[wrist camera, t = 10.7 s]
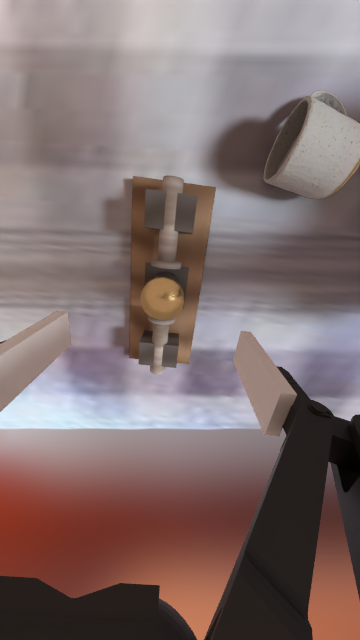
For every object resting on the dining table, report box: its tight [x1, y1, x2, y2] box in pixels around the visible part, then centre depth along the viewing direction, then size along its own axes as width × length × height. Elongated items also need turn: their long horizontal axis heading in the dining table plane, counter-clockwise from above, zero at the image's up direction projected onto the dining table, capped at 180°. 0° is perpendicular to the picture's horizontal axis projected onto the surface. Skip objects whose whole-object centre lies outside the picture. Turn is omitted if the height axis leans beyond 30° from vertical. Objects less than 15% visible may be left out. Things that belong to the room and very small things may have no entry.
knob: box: [141, 272, 184, 320], centre depth 28 cm, size 5×5×7 cm
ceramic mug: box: [263, 91, 360, 199], centre depth 22 cm, size 11×8×8 cm
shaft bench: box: [129, 176, 216, 375], centre depth 29 cm, size 28×11×7 cm, turn 174°
